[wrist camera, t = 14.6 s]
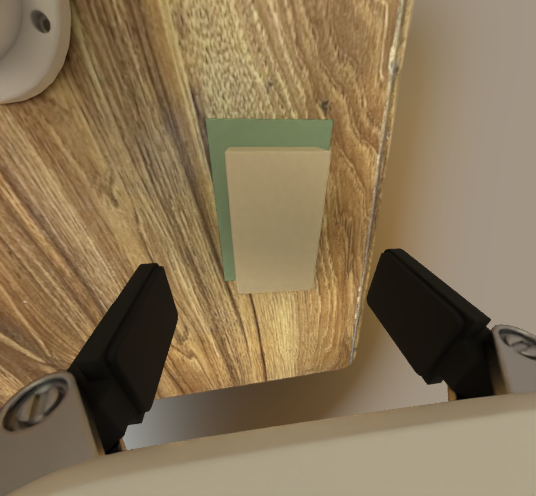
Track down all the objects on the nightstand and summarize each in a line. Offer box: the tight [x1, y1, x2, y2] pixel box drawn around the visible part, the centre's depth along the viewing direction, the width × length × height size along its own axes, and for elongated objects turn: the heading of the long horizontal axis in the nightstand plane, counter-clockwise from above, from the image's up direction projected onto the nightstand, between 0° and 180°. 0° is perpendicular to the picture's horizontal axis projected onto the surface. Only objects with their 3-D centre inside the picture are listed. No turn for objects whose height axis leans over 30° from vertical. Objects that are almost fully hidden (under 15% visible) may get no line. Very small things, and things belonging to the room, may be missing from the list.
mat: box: [206, 119, 333, 281], centre depth 19 cm, size 14×9×1 cm, turn 179°
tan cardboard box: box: [225, 147, 332, 294], centre depth 17 cm, size 11×6×4 cm, turn 0°
